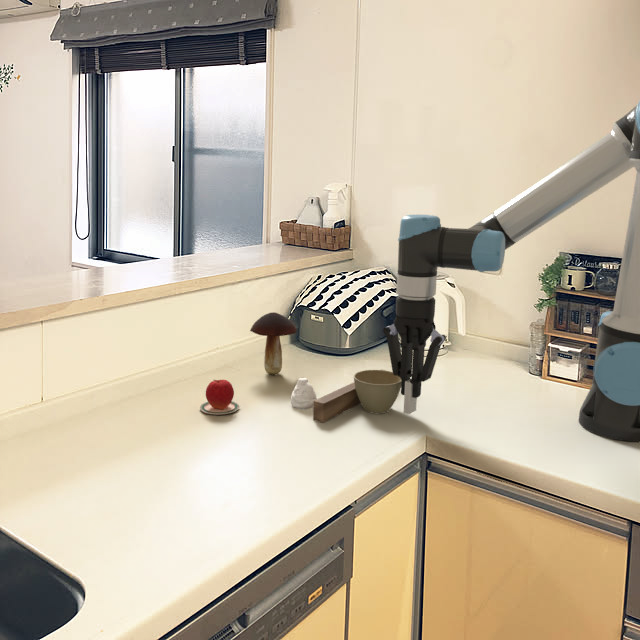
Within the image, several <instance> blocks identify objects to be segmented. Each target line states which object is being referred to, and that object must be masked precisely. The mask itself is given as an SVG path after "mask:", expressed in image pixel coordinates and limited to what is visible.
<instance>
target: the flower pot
mask: <svg viewBox="0 0 640 640" xmlns="http://www.w3.org/2000/svg"><path fill="white" fill-rule="evenodd" d="M385 370H386V369H382V370H381V369H366V370H360V371H357V372H355V374H354V375H353V382H354V383H355V388H356V392H357V395H358V398H359V400H360V402H361V406H362V407H363V410H365V412H367V413H370V414H375V415H376V414H377V415H378V414H379V415H380V414H386V413H388V412H390V410H391V408H392V407H393V405H394V404H395V402H396V400H397V398H398V396H399V394H400V393H401V378H400V377H399V376H397V375H396V376H395V375H394V374H393V371H392V370H386V371H385Z"/></svg>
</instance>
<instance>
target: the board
mask: <svg viewBox="0 0 640 640" xmlns="http://www.w3.org/2000/svg"><path fill="white" fill-rule="evenodd" d="M380 370H383V369H380ZM384 370H385V371H387V370H386V369H384ZM360 404H361V402H360V400H359V398H358V395H357V392H356V388H355V383H354V381H353V382H351V383H350V384H347V385H345V386H343V387H341V388H339V389H336V390H334V391H332V392H330V393H328V394H327V393H326V395H324V396H320V397H318V398H317V400H314V403H313V407H312V408H313V411H312V412H313V413H312V414H313V415H312V420H313V421H316V422H319V423H323V424H324V423H326V422H327V421H329V420H331V419H333V418H335V417H337V416H339V415H341V414H343V413H345V412H347V411H349V410H351V409H352V408H355V407H357V406H359V405H360ZM361 405H362V404H361Z"/></svg>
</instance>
